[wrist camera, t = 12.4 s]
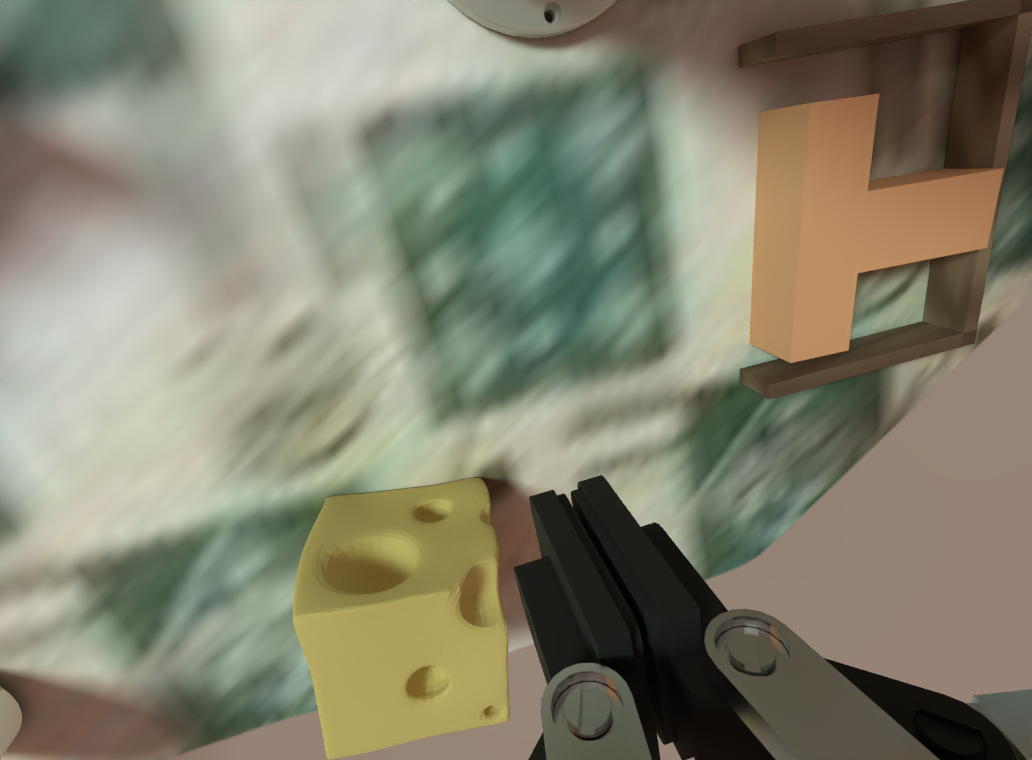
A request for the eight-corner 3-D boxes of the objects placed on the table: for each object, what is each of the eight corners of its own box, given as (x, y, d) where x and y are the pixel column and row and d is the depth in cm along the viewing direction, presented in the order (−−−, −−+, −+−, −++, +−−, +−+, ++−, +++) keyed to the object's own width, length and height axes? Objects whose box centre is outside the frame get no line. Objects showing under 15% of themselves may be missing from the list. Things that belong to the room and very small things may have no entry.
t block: (759, 111, 30) (810, 102, 26) (951, 85, 32) (1023, 73, 28) (749, 343, 35) (790, 363, 32) (914, 308, 37) (971, 323, 34)
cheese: (483, 471, 34) (517, 578, 25) (486, 601, 38) (516, 734, 29) (314, 490, 32) (285, 614, 23) (335, 625, 36) (317, 777, 27)
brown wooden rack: (738, 46, 28) (775, 32, 26) (980, 5, 31) (1038, -11, 28) (739, 382, 36) (768, 399, 34) (932, 331, 38) (974, 343, 36)
